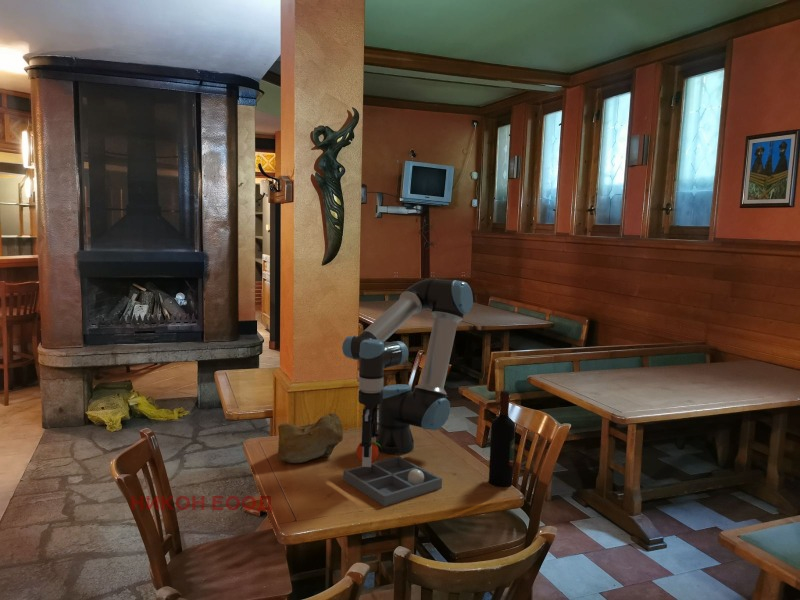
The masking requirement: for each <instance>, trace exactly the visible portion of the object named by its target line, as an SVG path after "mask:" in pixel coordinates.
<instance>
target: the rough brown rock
mask: <svg viewBox="0 0 800 600" xmlns="http://www.w3.org/2000/svg"><path fill="white" fill-rule="evenodd" d="M277 429H278V442H277V443H278V447H277V448H278V449H277V458H278V459H279V461H283V462H286V463H288V464H302V463H305V462H308V461H310V460H311V461H312V460H314V459H318V458H319V457H324V458H326V457H329V456H331V455H332V453H333V451H334V449H335V447H336V446H337V445H339V443H340V442H342V441H343V438H344V433H343V432H344V431H343V430H344V429H343V424H342V420H341V419H340V417H339V415H338V414H337V413H334V412H331V413H330V412H329V413H327V414H324V415H323V416H321V417H320V418H319V419H318V420H317V421H316V422H314V423H310V424H306V425H301V426H298V425H294V424H293V423H281V424H279V425H278V428H277Z"/></svg>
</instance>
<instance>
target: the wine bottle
mask: <svg viewBox="0 0 800 600" xmlns="http://www.w3.org/2000/svg"><path fill="white" fill-rule="evenodd" d="M499 396H500V399H499V413H498V416H497V417H496V418H494V419H493V420H492V422H491V425H490V427H491V428H490V446H489V447H490V448H489V449H490V450H489V467H488V469H489V470H488V484H490V485H491V486H493V487H496V488H509V487H511V486H512V485H513V477H514V460H515V458H514V455H515V439H516V436H515V435H516V423H515V422H514V421H513V419H511V417H510V416H509V405H510V391H509V390H501V391H500V393H499Z"/></svg>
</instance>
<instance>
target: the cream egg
mask: <svg viewBox="0 0 800 600" xmlns="http://www.w3.org/2000/svg"><path fill="white" fill-rule="evenodd" d="M408 482H409V483H410V484H412V485H417V484H421V483H423V482H424V474H423V472H422V471H420V470H418V469H413V470H411V471H410V472H409V474H408Z"/></svg>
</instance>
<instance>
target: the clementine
mask: <svg viewBox="0 0 800 600" xmlns="http://www.w3.org/2000/svg"><path fill="white" fill-rule="evenodd" d="M375 443H376V442H374V441H371V446H372V455H371V463H374V461H376V460H377V458H378V456H379V453H380V452H378V447H377V445H376V444H378V443H376V444H375ZM360 444H362V441H361V442H360V443H359V444H358V445H357V446H356V457H357V459H358V460H359V461H360V462H362V450H363V447H362V446H360ZM378 445H379V444H378ZM379 446H380V445H379ZM380 447H381V446H380ZM381 449H382V448H381Z"/></svg>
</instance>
